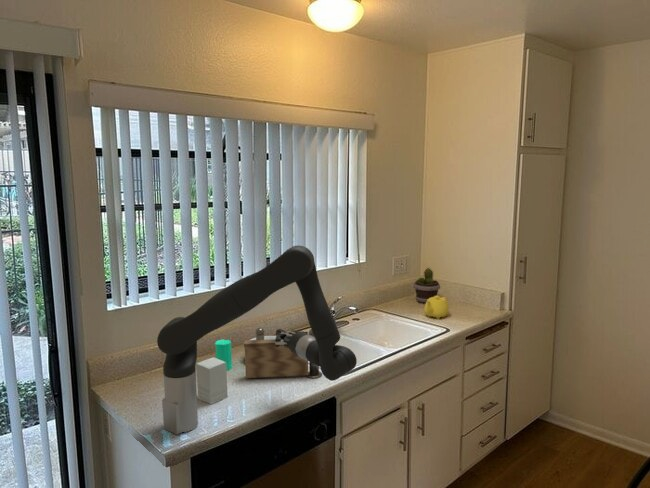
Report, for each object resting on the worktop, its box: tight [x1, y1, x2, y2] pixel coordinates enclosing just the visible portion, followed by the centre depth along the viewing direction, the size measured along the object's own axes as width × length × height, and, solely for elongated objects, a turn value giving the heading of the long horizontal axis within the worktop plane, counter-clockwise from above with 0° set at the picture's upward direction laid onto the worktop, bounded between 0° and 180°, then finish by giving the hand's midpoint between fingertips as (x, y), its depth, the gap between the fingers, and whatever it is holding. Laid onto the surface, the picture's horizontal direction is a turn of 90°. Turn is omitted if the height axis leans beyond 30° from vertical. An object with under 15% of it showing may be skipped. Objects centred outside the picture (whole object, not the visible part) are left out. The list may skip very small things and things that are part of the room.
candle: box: [214, 339, 233, 372], centre depth 195 cm, size 6×6×12 cm
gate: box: [243, 339, 309, 379], centre depth 187 cm, size 23×4×13 cm, turn 96°
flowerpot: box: [412, 265, 441, 305], centre depth 285 cm, size 14×15×20 cm
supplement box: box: [195, 357, 229, 405], centre depth 171 cm, size 7×7×13 cm
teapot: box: [423, 295, 450, 320], centre depth 259 cm, size 18×11×11 cm, turn 137°
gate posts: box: [255, 327, 323, 380], centre depth 188 cm, size 7×26×18 cm, turn 89°
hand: (278, 331), depth 172 cm, fingers closed
